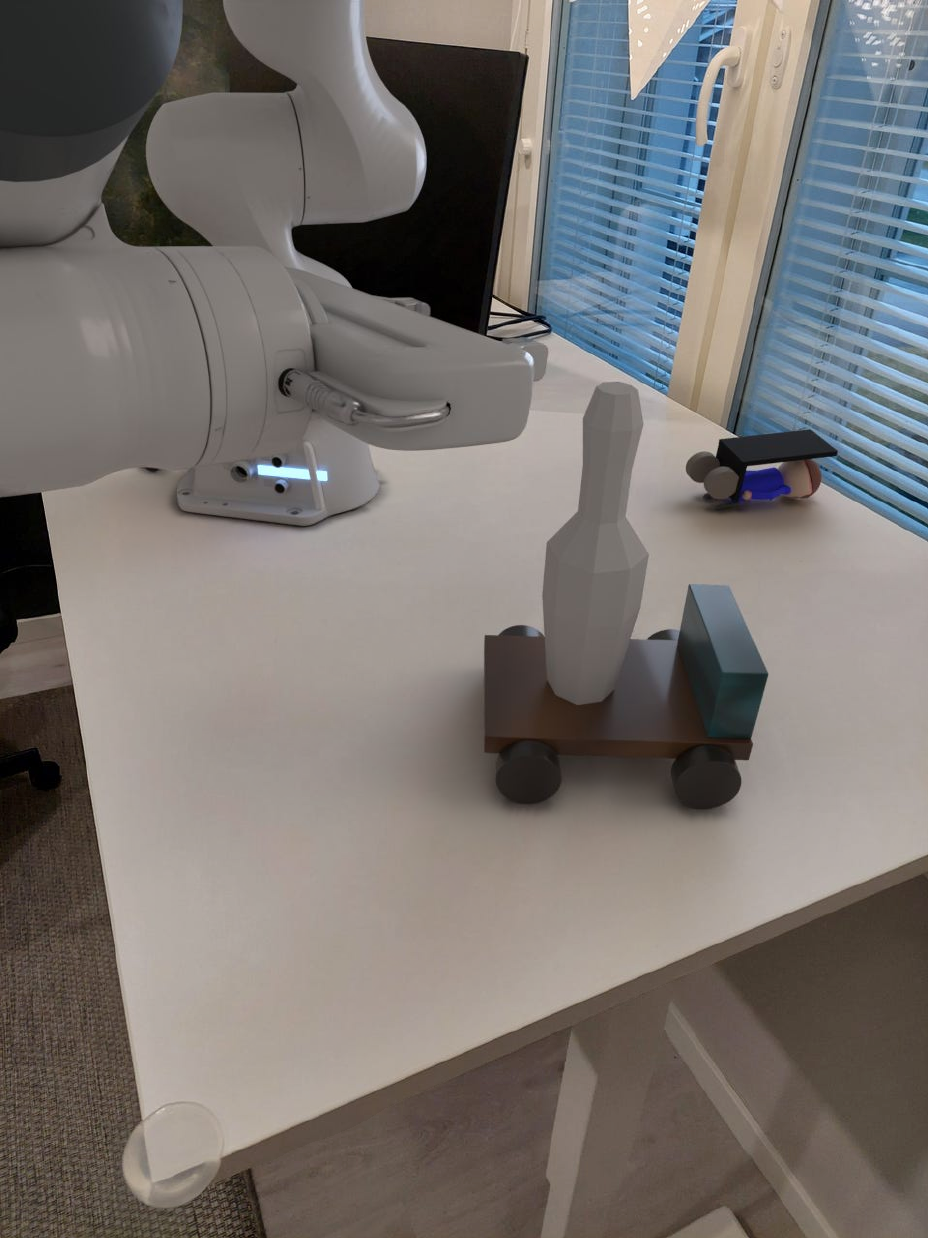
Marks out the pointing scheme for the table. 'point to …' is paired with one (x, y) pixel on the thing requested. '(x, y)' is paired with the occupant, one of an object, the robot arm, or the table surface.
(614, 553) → the low poly bottle
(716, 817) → the table surface
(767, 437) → the figurine character
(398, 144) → the robot arm
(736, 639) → the flatbed car
